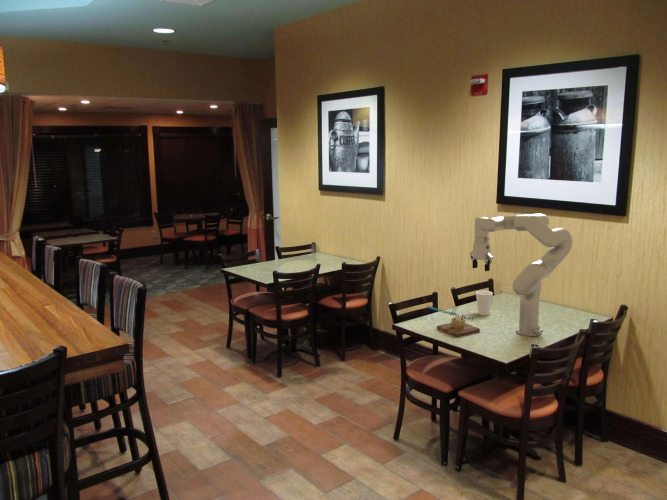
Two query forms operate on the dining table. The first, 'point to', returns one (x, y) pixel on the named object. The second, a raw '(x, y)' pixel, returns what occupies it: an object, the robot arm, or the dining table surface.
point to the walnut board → (458, 330)
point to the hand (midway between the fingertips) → (480, 269)
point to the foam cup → (484, 302)
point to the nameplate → (447, 312)
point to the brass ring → (458, 323)
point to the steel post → (458, 317)
